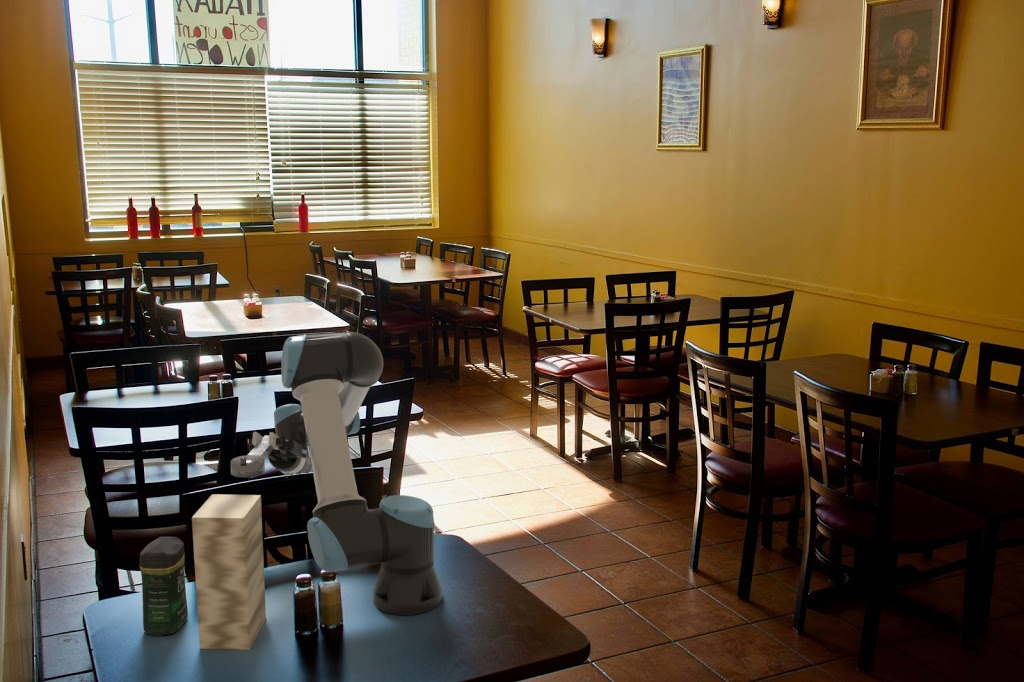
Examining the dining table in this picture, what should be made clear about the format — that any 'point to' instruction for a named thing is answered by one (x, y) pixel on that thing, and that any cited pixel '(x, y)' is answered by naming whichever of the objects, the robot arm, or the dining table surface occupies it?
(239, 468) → the pin spanner
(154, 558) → the coffee jar
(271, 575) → the dining table surface
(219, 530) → the birch pedestal
